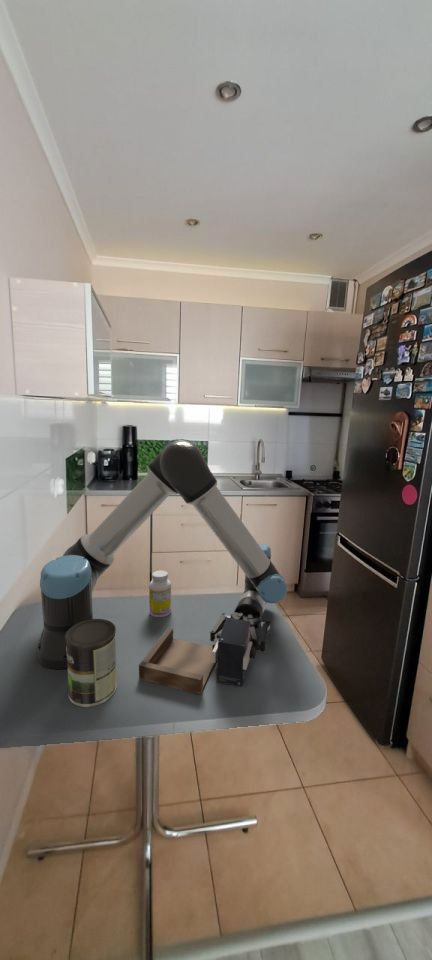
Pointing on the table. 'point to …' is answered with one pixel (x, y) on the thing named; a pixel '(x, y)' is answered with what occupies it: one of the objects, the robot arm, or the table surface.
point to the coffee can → (91, 662)
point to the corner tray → (177, 664)
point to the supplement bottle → (160, 594)
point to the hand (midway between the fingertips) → (229, 660)
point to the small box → (232, 651)
